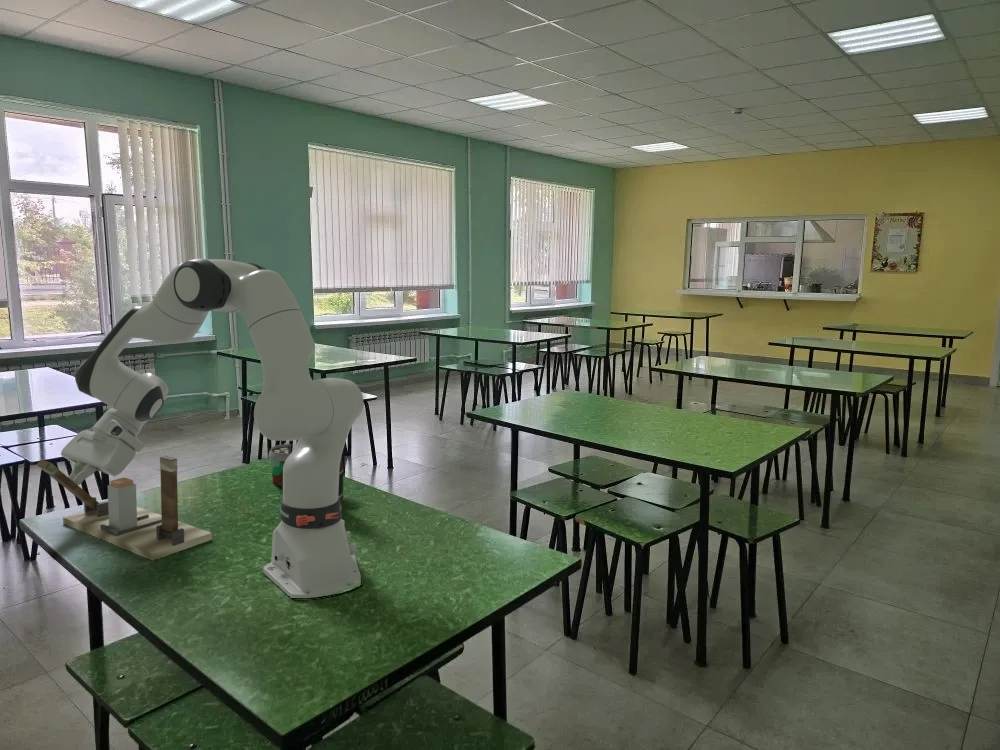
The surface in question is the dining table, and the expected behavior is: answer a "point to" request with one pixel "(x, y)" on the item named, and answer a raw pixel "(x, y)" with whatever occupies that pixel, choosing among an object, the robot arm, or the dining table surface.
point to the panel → (138, 532)
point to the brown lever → (169, 495)
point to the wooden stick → (68, 484)
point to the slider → (122, 504)
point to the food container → (279, 462)
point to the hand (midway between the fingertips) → (72, 482)
